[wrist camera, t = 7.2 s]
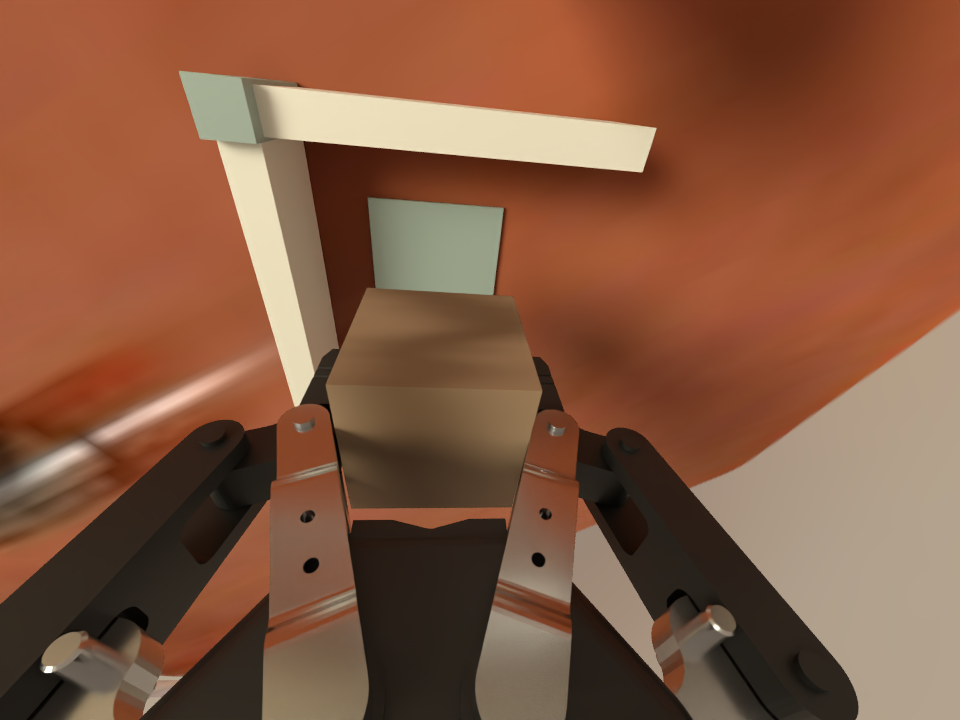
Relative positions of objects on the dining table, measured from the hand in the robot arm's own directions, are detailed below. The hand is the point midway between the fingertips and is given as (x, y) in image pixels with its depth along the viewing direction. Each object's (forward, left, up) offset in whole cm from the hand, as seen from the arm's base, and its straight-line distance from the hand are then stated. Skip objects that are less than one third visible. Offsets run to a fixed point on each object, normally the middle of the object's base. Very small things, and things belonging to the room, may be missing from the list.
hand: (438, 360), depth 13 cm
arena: (-3, -1, -9) cm, 10 cm away
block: (0, 0, 0) cm, 0 cm away
